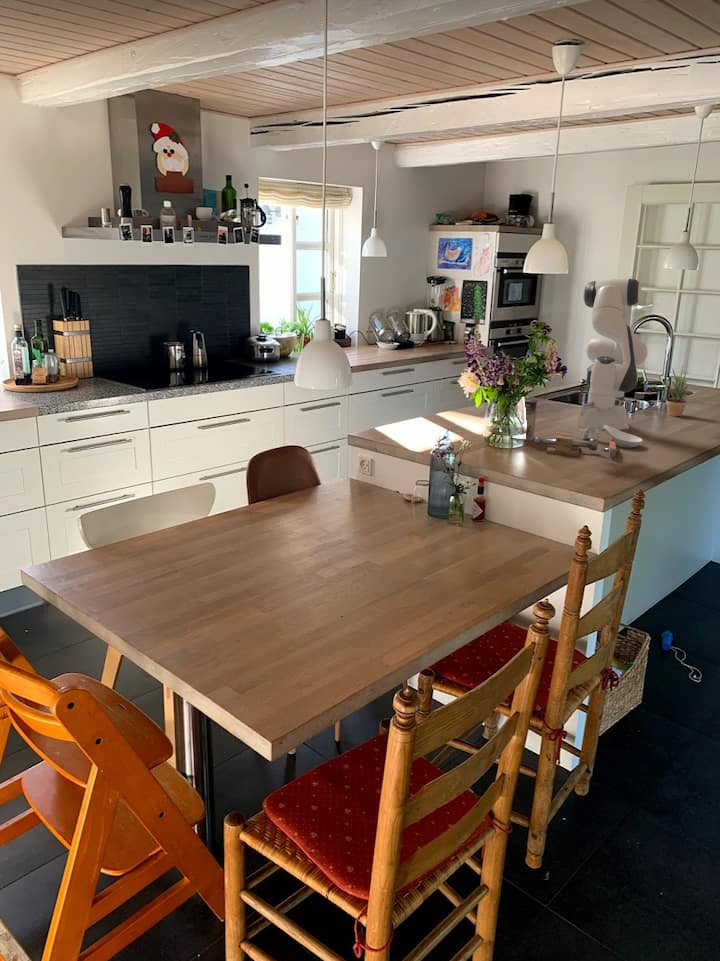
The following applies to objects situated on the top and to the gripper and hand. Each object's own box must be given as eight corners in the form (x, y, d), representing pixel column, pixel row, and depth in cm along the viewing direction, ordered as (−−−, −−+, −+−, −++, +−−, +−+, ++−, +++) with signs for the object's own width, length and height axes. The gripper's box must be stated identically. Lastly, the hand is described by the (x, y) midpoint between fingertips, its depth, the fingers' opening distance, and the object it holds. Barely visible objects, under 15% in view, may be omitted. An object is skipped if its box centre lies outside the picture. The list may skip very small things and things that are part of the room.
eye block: (548, 444, 303) (550, 429, 301) (579, 447, 300) (581, 432, 298) (546, 453, 290) (548, 437, 288) (578, 456, 287) (580, 440, 285)
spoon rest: (645, 446, 306) (647, 428, 304) (636, 452, 297) (639, 434, 295) (588, 436, 319) (590, 420, 317) (578, 442, 310) (580, 424, 308)
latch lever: (608, 448, 295) (609, 441, 295) (614, 448, 295) (615, 441, 294) (609, 456, 283) (610, 449, 282) (615, 457, 283) (616, 450, 282)
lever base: (603, 447, 300) (604, 436, 299) (618, 449, 299) (620, 438, 298) (603, 451, 295) (604, 440, 294) (619, 452, 293) (620, 441, 292)
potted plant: (660, 414, 364) (667, 363, 357) (669, 412, 370) (677, 362, 363) (680, 418, 357) (688, 366, 350) (689, 416, 363) (697, 364, 356)
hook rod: (534, 443, 299) (535, 433, 298) (597, 448, 292) (598, 438, 291) (533, 444, 296) (534, 434, 295) (597, 450, 290) (598, 440, 288)
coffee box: (509, 438, 311) (513, 400, 306) (512, 435, 316) (515, 397, 312) (532, 441, 308) (536, 402, 303) (534, 437, 314) (538, 399, 309)
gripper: (589, 405, 272) (584, 442, 276) (623, 400, 284) (619, 436, 287) (575, 402, 277) (570, 438, 281) (609, 397, 288) (605, 433, 292)
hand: (595, 437), depth 284 cm, fingers closed
